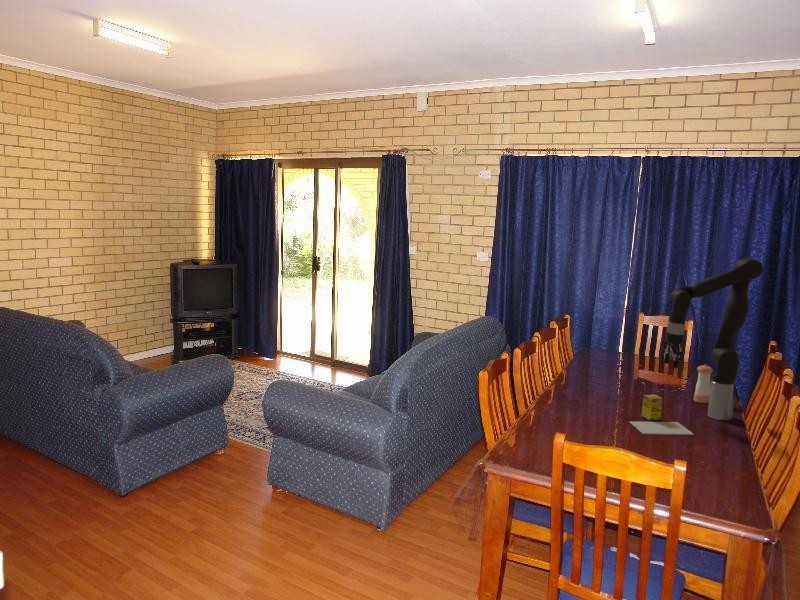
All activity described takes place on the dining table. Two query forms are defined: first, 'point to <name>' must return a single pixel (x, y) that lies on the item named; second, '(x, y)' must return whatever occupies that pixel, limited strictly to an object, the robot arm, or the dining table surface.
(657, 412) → the supplement box
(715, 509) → the dining table surface
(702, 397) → the salt shaker
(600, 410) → the dining table surface
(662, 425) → the mat
